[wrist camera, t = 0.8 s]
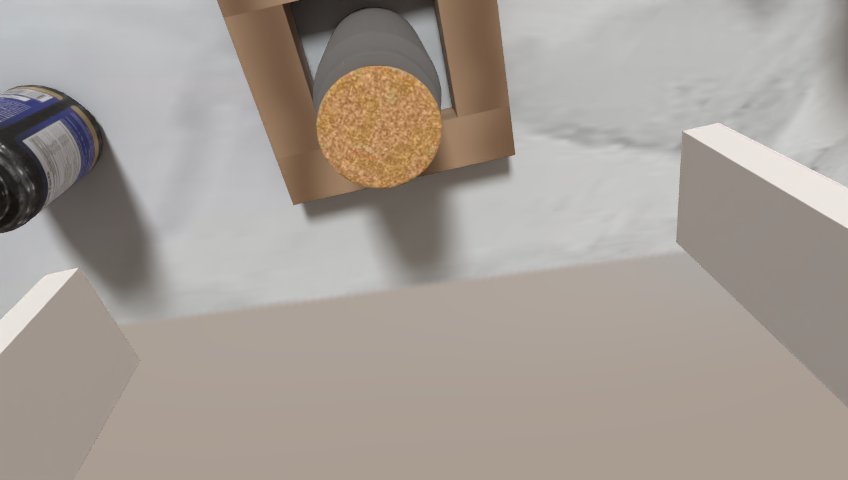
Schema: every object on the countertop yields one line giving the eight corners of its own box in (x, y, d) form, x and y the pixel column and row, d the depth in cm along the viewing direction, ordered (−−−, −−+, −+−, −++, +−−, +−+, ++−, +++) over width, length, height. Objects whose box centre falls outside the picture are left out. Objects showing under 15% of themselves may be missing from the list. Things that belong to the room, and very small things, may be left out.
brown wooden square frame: (297, 190, 36) (293, 204, 34) (210, -51, 28) (198, -51, 26) (506, 142, 36) (515, 154, 34) (474, -114, 28) (483, -118, 26)
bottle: (440, 50, 32) (489, 120, 19) (382, 121, 34) (391, 228, 21) (367, -17, 30) (365, 11, 17) (309, 63, 32) (268, 142, 19)
